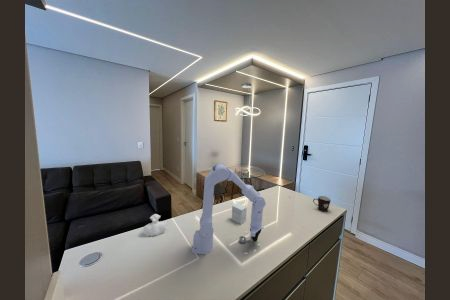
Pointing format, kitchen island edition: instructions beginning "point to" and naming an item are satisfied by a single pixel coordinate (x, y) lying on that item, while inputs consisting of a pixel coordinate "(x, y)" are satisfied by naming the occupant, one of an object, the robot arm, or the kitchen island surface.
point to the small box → (239, 213)
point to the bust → (155, 226)
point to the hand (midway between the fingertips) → (254, 240)
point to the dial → (253, 250)
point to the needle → (244, 240)
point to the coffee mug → (323, 203)
